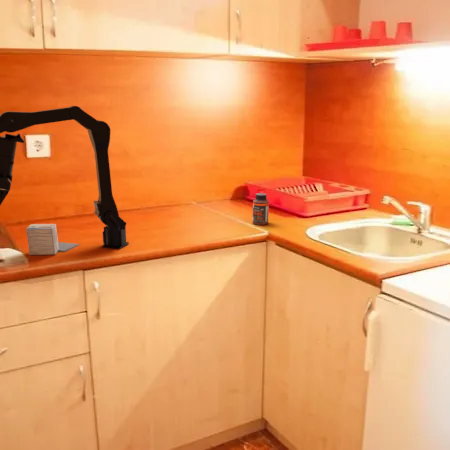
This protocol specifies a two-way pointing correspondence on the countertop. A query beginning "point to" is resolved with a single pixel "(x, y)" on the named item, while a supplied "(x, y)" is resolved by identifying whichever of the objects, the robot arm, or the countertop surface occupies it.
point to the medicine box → (42, 239)
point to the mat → (66, 246)
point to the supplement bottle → (260, 209)
